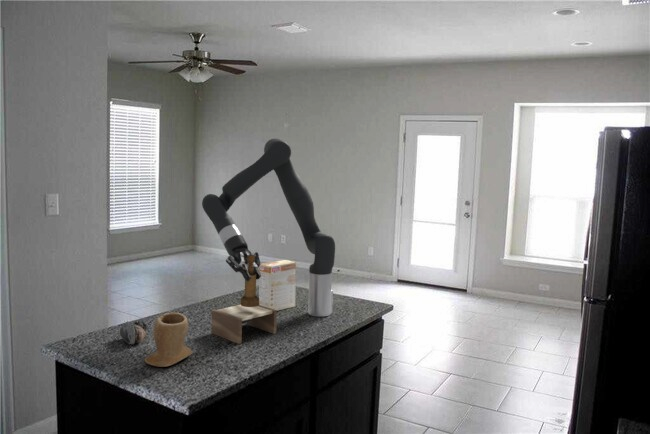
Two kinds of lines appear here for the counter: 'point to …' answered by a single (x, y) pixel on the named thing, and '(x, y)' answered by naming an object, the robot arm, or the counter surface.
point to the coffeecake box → (277, 284)
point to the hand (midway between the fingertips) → (254, 278)
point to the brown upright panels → (232, 325)
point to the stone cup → (169, 340)
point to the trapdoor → (246, 312)
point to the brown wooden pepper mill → (250, 286)
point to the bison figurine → (133, 332)
